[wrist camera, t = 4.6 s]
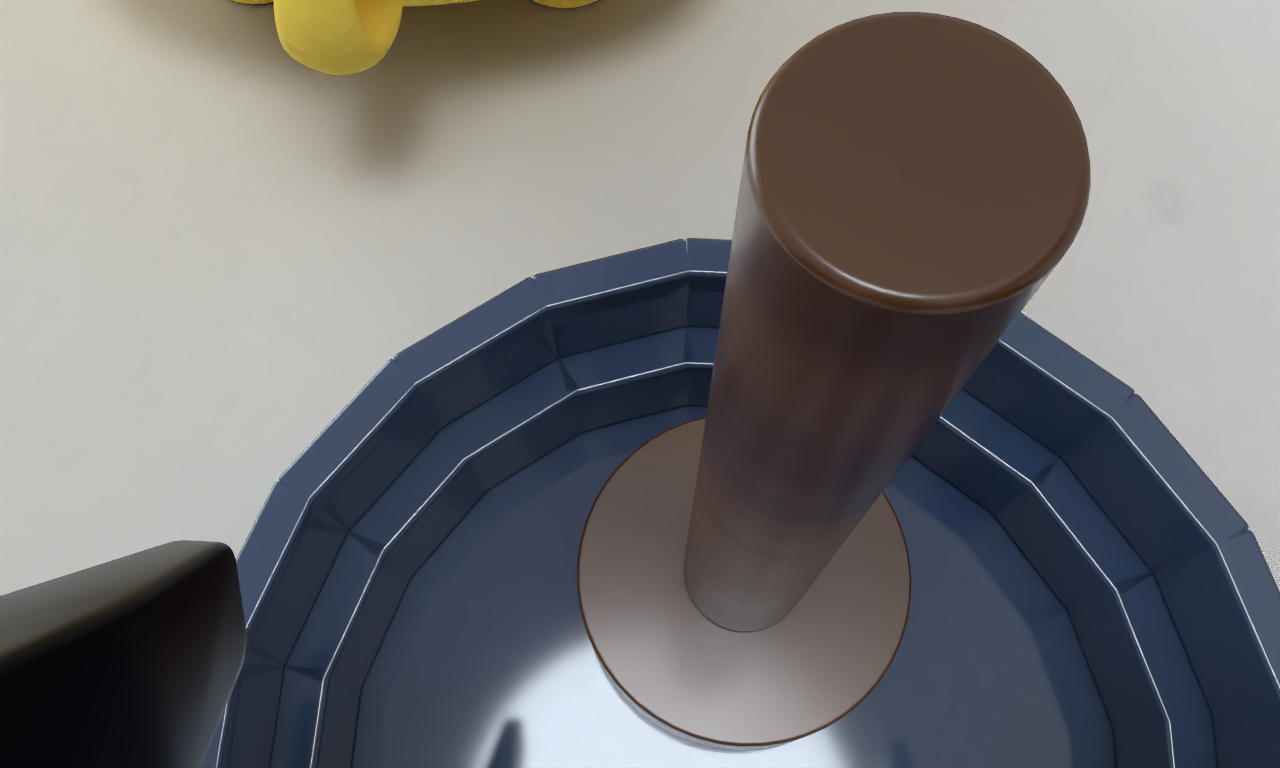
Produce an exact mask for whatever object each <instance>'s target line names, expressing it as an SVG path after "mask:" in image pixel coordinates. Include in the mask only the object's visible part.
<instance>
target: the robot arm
mask: <svg viewBox="0 0 1280 768" xmlns="http://www.w3.org/2000/svg"><path fill="white" fill-rule="evenodd" d="M246 638H247V634H246V625H245V618H244V611H243V605H242V598H241V591H240V584H239V577H238V570H237V564H236V559H235V556H234V554H233V551H232V550H231V548H230V547H229V546H228V545H226V544H224V543H221V542H206V541H186V540H182V541H173V542H170V543H166V544H163V545H160V546H157V547H154V548H151V549H147V550H144V551H141V552H138V553H135V554H132V555H129V556H125V557H122V558H119V559H116V560H113V561H110V562H106V563H103V564H100V565H97V566H94V567H91V568H87V569H84V570H81V571H78V572H75V573H72V574H69V575H65V576H62V577H59V578H56V579H53V580H50V581H46V582H43V583H40V584H37V585H34V586H31V587H28V588H24V589H21V590H18V591H15V592H12V593H9V594H5V595H2V596H0V768H201V766H202V764H203V761H204V759H205V756H206V754H207V751H208V749H209V746H210V744H211V742H212V739H213V737H214V734H215V732H216V729H217V727H218V725H219V722H220V720H221V717H222V715H223V712H224V710H225V708H226V705H227V703H228V700H229V698H230V695H231V693H232V691H233V688H234V686H235V683H236V681H237V678H238V676H239V673H240V671H241V668H242V665H243V661H244V657H245V651H246Z"/></svg>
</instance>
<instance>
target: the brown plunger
mask: <svg viewBox="0 0 1280 768" xmlns="http://www.w3.org/2000/svg"><path fill="white" fill-rule="evenodd" d="M1089 192H1090V159H1089V153H1088V147H1087V141H1086V137H1085V134H1084V131H1083V128H1082V124H1081V121H1080V119H1079V117H1078V115H1077V113H1076V111H1075V108H1074V106H1073V104H1072V102H1071V101H1070V99H1069V98H1068V96H1067V95H1066V93H1065V92H1064V90H1063V88H1062V87H1061V85H1060V84H1059V83H1058V82H1057V81H1056V80H1055V78H1054V77H1053V76H1052V75H1051V74H1050V72H1049V71H1048V70H1047V69H1046V68H1045V67H1044V66H1043V65H1042V64H1040V63H1039V62H1038V61H1037V60H1036V59H1035V58H1034V57H1033V56H1032V55H1030V54H1029V53H1028V52H1026V51H1025V50H1024V49H1022V48H1021V47H1020V46H1018V45H1017V44H1015V43H1014V42H1012V41H1010V40H1008V39H1007V38H1005V37H1003V36H1002V35H1000V34H998V33H996V32H994V31H992V30H989V29H987V28H985V27H982V26H980V25H978V24H975V23H972V22H968V21H965V20H962V19H959V18H955V17H950V16H945V15H940V14H933V13H922V12H893V13H885V14H877V15H871V16H867V17H863V18H859V19H855V20H852V21H850V22H847V23H844V24H842V25H839V26H836V27H834V28H832V29H830V30H828V31H826V32H824V33H823V34H821V35H819V36H817V37H816V38H814V39H813V40H811V41H810V42H808V43H807V44H806V45H804V46H803V47H801V48H800V49H799V50H798V51H797V52H796V53H794V54H793V55H792V56H791V57H790V58H789V59H788V60H787V61H786V62H785V63H784V64H782V66H781V67H780V68H779V69H778V71H777V72H776V73H775V74H774V75H773V77H772V78H771V79H770V81H769V82H768V84H767V86H766V87H765V89H764V90H763V92H762V94H761V95H760V98H759V100H758V102H757V105H756V107H755V109H754V112H753V115H752V119H751V123H750V127H749V130H748V136H747V143H746V150H745V156H744V163H743V170H742V177H741V183H740V190H739V197H738V204H737V210H736V217H735V224H734V231H733V237H732V244H731V251H730V258H729V264H728V271H727V278H726V285H725V291H724V298H723V305H722V311H721V318H720V325H719V332H718V338H717V345H716V352H715V359H714V365H713V372H712V379H711V386H710V392H709V399H708V406H707V413H706V416H705V417H702V418H698V419H694V420H691V421H687V422H684V423H682V424H679V425H677V426H675V427H672V428H670V429H667V430H665V431H664V432H662V433H660V434H658V435H657V436H655V437H653V438H651V439H650V440H648V441H647V442H646V443H644V444H643V445H642V446H640V447H639V448H638V449H636V450H635V451H634V452H632V453H631V454H630V455H629V456H628V457H627V458H626V459H625V460H624V461H623V462H622V463H621V464H620V465H619V466H618V467H617V468H616V470H615V471H614V472H613V474H612V475H611V476H610V477H609V479H608V480H607V481H606V483H605V484H604V486H603V487H602V489H601V491H600V492H599V494H598V496H597V498H596V499H595V501H594V503H593V505H592V508H591V510H590V512H589V515H588V517H587V520H586V522H585V526H584V530H583V533H582V537H581V540H580V546H579V554H578V561H577V589H578V597H579V605H580V610H581V613H582V617H583V621H584V625H585V629H586V631H587V634H588V636H589V639H590V642H591V644H592V646H593V649H594V651H595V654H596V656H597V659H598V661H599V663H600V664H601V666H602V668H603V670H604V671H605V673H606V675H607V677H608V678H609V680H610V681H611V682H612V684H613V685H614V686H615V687H616V689H617V690H618V691H619V693H620V694H621V695H622V696H623V697H624V698H625V699H626V700H627V701H628V702H629V703H630V704H631V705H632V706H633V707H634V708H635V709H636V710H637V711H638V712H639V713H641V714H642V715H643V716H644V717H646V718H647V719H648V720H650V721H651V722H652V723H654V724H655V725H657V726H659V727H661V728H662V729H664V730H666V731H667V732H669V733H671V734H673V735H675V736H678V737H680V738H683V739H685V740H688V741H690V742H693V743H697V744H701V745H704V746H708V747H712V748H720V749H728V750H757V749H763V748H770V747H776V746H779V745H783V744H786V743H789V742H793V741H796V740H799V739H801V738H804V737H806V736H809V735H811V734H813V733H815V732H818V731H820V730H822V729H824V728H826V727H828V726H830V725H831V724H833V723H834V722H836V721H838V720H839V719H841V718H842V717H844V716H845V715H847V714H848V713H849V712H850V711H852V710H853V709H854V708H855V707H856V706H857V705H859V704H860V703H861V702H862V701H863V700H864V699H865V698H866V697H867V696H868V695H869V694H870V692H871V691H872V690H873V689H874V688H875V687H876V686H877V684H878V683H879V682H880V680H881V679H882V677H883V676H884V674H885V673H886V671H887V670H888V668H889V667H890V665H891V663H892V661H893V659H894V657H895V655H896V653H897V651H898V648H899V646H900V644H901V641H902V638H903V635H904V631H905V628H906V625H907V621H908V615H909V609H910V604H911V583H912V579H911V568H910V558H909V554H908V549H907V545H906V540H905V536H904V534H903V531H902V528H901V525H900V523H899V520H898V517H897V515H896V513H895V511H894V509H893V507H892V505H891V503H890V501H889V500H888V498H887V496H886V495H885V493H884V492H883V491H884V490H885V488H886V487H887V486H888V484H889V483H890V482H891V480H892V479H893V478H894V477H895V475H896V474H897V473H898V471H899V470H900V469H901V467H902V466H903V465H904V463H905V462H906V461H907V460H908V458H909V457H910V456H911V454H912V453H913V452H914V450H915V449H916V448H917V447H918V445H919V444H920V443H921V441H922V440H923V439H924V437H925V436H926V435H927V433H928V432H929V431H930V430H931V428H932V427H933V426H934V424H935V423H936V422H937V420H938V419H939V418H940V417H941V415H942V414H943V413H944V411H945V410H946V409H947V407H948V406H949V405H950V403H951V402H952V401H953V400H954V398H955V397H956V396H957V394H958V393H959V392H960V390H961V389H962V388H963V387H964V385H965V384H966V383H967V381H968V380H969V379H970V377H971V376H972V375H973V373H974V372H975V371H976V370H977V368H978V367H979V366H980V364H981V363H982V362H983V360H984V359H985V358H986V357H987V355H988V354H989V353H990V351H991V350H992V349H993V347H994V346H995V345H996V343H997V342H998V341H999V340H1000V338H1001V337H1002V336H1003V334H1004V333H1005V332H1006V330H1007V329H1008V328H1009V327H1010V325H1011V324H1012V323H1013V321H1014V320H1015V319H1016V317H1017V316H1018V315H1019V313H1020V312H1021V311H1022V310H1023V308H1024V307H1025V306H1026V304H1027V303H1028V302H1029V300H1030V299H1031V298H1032V297H1033V295H1034V294H1035V293H1036V291H1037V290H1038V289H1039V287H1040V286H1041V285H1042V283H1043V282H1044V281H1045V280H1046V278H1047V277H1048V276H1049V274H1050V273H1051V272H1052V270H1053V269H1054V268H1055V267H1056V265H1057V264H1058V263H1059V261H1060V260H1061V259H1062V257H1063V256H1064V254H1065V253H1066V251H1067V250H1068V249H1069V247H1070V246H1071V244H1072V243H1073V241H1074V239H1075V237H1076V235H1077V233H1078V231H1079V229H1080V227H1081V225H1082V222H1083V219H1084V215H1085V212H1086V209H1087V205H1088V199H1089Z"/></svg>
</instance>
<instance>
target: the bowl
mask: <svg viewBox="0 0 1280 768" xmlns="http://www.w3.org/2000/svg"><path fill="white" fill-rule="evenodd" d="M731 244H732V240H722V239H699V238H688V239H686V241H684V240H683V239H678V240H674V241H670V242H666V243H662V244H658V245H654V246H650V247H646V248H642V249H638V250H633V251H629V252H625V253H621V254H617V255H613V256H609V257H605V258H601V259H597V260H593V261H589V262H585V263H580V264H576V265H572V266H568V267H564V268H560V269H556V270H552V271H548V272H544V273H540V274H536V275H535V276H533V278H531V277H529V278H526V279H525V280H523V281H521V282H520V283H518V284H516V285H514V286H513V287H511V288H509V289H507V290H506V291H504V292H502V293H501V294H499V295H497V296H495V297H494V298H492V299H490V300H489V301H487V302H485V303H483V304H482V305H480V306H478V307H477V308H475V309H473V310H471V311H470V312H468V313H466V314H465V315H463V316H461V317H459V318H458V319H456V320H454V321H453V322H451V323H449V324H447V325H446V326H444V327H442V328H441V329H439V330H437V331H435V332H434V333H432V334H430V335H429V336H427V337H425V338H423V339H422V340H420V341H418V342H417V343H415V344H413V345H411V346H410V347H408V348H406V349H405V350H403V351H401V352H399V353H398V354H396V355H395V356H394V359H390V360H389V361H388V362H387V363H386V364H385V365H384V366H383V367H382V368H381V369H380V370H379V371H378V372H377V374H376V375H375V376H374V377H373V378H372V379H371V380H370V381H369V382H368V383H367V384H366V385H365V386H364V387H363V388H362V389H361V391H360V392H359V393H358V394H357V395H356V396H355V397H354V398H353V399H352V400H351V401H350V402H349V403H348V404H347V405H346V407H345V408H344V409H343V410H342V411H341V412H340V413H339V414H338V415H337V416H336V417H335V418H334V419H333V420H332V421H331V422H330V424H329V425H328V426H327V427H326V428H325V429H324V430H323V431H322V432H321V433H320V434H319V435H318V436H317V437H316V438H315V439H314V441H313V442H312V443H311V444H310V445H309V446H308V447H307V448H306V449H305V450H304V451H303V452H302V453H301V454H300V455H299V457H298V458H297V459H296V460H295V461H294V462H293V463H292V464H291V465H290V466H289V467H288V468H287V469H286V470H285V471H284V472H283V474H282V475H281V476H280V478H279V481H280V482H275V484H274V485H273V487H272V489H271V491H270V493H269V495H268V497H267V499H266V501H265V503H264V505H263V507H262V509H261V511H260V513H259V515H258V517H257V519H256V521H255V523H254V525H253V527H252V529H251V531H250V533H249V535H248V537H247V539H246V541H245V543H244V545H243V547H242V549H241V551H240V553H239V555H238V557H237V559H236V564H237V570H238V577H239V584H240V591H241V598H242V605H243V611H244V618H245V625H246V634H247V638H246V651H245V657H244V661H243V665H242V668H241V671H240V673H239V676H238V678H237V681H236V683H235V686H234V688H233V691H232V693H231V695H230V698H229V700H228V703H227V705H226V708H225V710H224V712H223V715H222V717H221V720H220V722H219V725H218V727H217V729H216V732H215V734H214V737H213V739H212V742H211V744H210V746H209V749H208V751H207V754H206V756H205V759H204V761H203V764H202V766H201V768H1280V591H1279V589H1278V587H1277V585H1276V582H1275V580H1274V578H1273V576H1272V574H1271V571H1270V569H1269V567H1268V565H1267V563H1266V560H1265V558H1264V556H1263V554H1262V551H1261V549H1260V547H1259V545H1258V543H1257V540H1256V538H1255V536H1254V534H1253V533H1252V531H1249V530H1247V529H1248V524H1247V523H1246V522H1245V521H1244V519H1243V518H1242V517H1241V516H1240V515H1239V513H1238V512H1237V511H1236V510H1235V509H1234V507H1233V506H1232V505H1231V504H1230V503H1229V502H1228V500H1227V499H1226V498H1225V497H1224V496H1223V494H1222V493H1221V492H1220V491H1219V490H1218V488H1217V487H1216V486H1215V485H1214V484H1213V482H1212V481H1211V480H1210V479H1209V478H1208V477H1207V475H1206V474H1205V473H1204V472H1203V471H1202V469H1201V468H1200V467H1199V466H1198V465H1197V463H1196V462H1195V461H1194V460H1193V459H1192V458H1191V456H1190V455H1189V454H1188V453H1187V452H1186V450H1185V449H1184V448H1183V447H1182V446H1181V444H1180V443H1179V442H1178V441H1177V440H1176V438H1175V437H1174V436H1173V435H1172V434H1171V433H1170V431H1169V430H1168V429H1167V428H1166V427H1165V425H1164V424H1163V423H1162V422H1161V421H1160V419H1159V418H1158V417H1157V416H1156V415H1155V414H1154V412H1153V411H1152V410H1151V409H1150V408H1149V406H1148V405H1147V404H1146V403H1145V402H1144V400H1143V399H1142V398H1141V397H1140V396H1139V395H1138V394H1134V390H1133V389H1132V388H1131V387H1129V386H1128V385H1126V384H1125V383H1123V382H1122V381H1120V380H1119V379H1117V378H1116V377H1115V376H1113V375H1112V374H1110V373H1109V372H1107V371H1106V370H1104V369H1103V368H1101V367H1100V366H1098V365H1097V364H1095V363H1094V362H1093V361H1091V360H1090V359H1088V358H1087V357H1085V356H1084V355H1082V354H1081V353H1079V352H1078V351H1076V350H1075V349H1073V348H1072V347H1071V346H1069V345H1068V344H1066V343H1065V342H1063V341H1062V340H1060V339H1059V338H1057V337H1056V336H1054V335H1053V334H1052V333H1050V332H1049V331H1047V330H1046V329H1044V328H1043V327H1041V326H1040V325H1038V324H1037V323H1035V322H1034V321H1032V320H1031V319H1030V318H1028V317H1027V316H1025V315H1024V314H1022V313H1021V312H1020V313H1019V315H1018V316H1017V317H1016V319H1015V320H1014V321H1013V323H1012V324H1011V325H1010V327H1009V328H1008V329H1007V330H1006V332H1005V333H1004V334H1003V336H1002V337H1001V338H1000V340H999V341H998V342H997V343H996V345H995V346H994V347H993V349H992V350H991V351H990V353H989V354H988V355H987V357H986V358H985V359H984V360H983V362H982V363H981V364H980V366H979V367H978V368H977V370H976V371H975V372H974V373H973V375H972V376H971V377H970V379H969V380H968V381H967V383H966V384H965V385H964V387H963V388H962V389H961V390H960V392H959V393H958V394H957V396H956V397H955V398H954V400H953V401H952V402H951V403H950V405H949V406H948V407H947V409H946V410H945V411H944V413H943V414H942V415H941V417H940V418H939V419H938V420H937V422H936V423H935V424H934V426H933V427H932V428H931V430H930V431H929V432H928V433H927V435H926V436H925V437H924V439H923V440H922V441H921V443H920V444H919V445H918V447H917V448H916V449H915V450H914V452H913V453H912V454H911V456H910V457H909V458H908V460H907V461H906V462H905V463H904V465H903V466H902V467H901V469H900V470H899V471H898V473H897V474H896V475H895V477H894V478H893V479H892V480H891V482H890V483H889V484H888V486H887V487H886V488H885V490H884V491H883V492H884V493H885V495H886V496H887V498H888V500H889V501H890V503H891V505H892V507H893V509H894V511H895V513H896V515H897V517H898V520H899V523H900V525H901V528H902V531H903V534H904V536H905V540H906V545H907V549H908V554H909V558H910V568H911V579H912V583H911V604H910V609H909V615H908V621H907V625H906V628H905V631H904V635H903V638H902V641H901V644H900V646H899V648H898V651H897V653H896V655H895V657H894V659H893V661H892V663H891V665H890V667H889V668H888V670H887V671H886V673H885V674H884V676H883V677H882V679H881V680H880V682H879V683H878V684H877V686H876V687H875V688H874V689H873V690H872V691H871V692H870V694H869V695H868V696H867V697H866V698H865V699H864V700H863V701H862V702H861V703H860V704H859V705H857V706H856V707H855V708H854V709H853V710H852V711H850V712H849V713H848V714H847V715H845V716H844V717H842V718H841V719H839V720H838V721H836V722H834V723H833V724H831V725H830V726H828V727H826V728H824V729H822V730H820V731H818V732H815V733H813V734H811V735H809V736H806V737H804V738H801V739H799V740H796V741H793V742H789V743H786V744H783V745H779V746H776V747H770V748H763V749H757V750H728V749H720V748H712V747H708V746H704V745H701V744H697V743H693V742H690V741H688V740H685V739H683V738H680V737H678V736H675V735H673V734H671V733H669V732H667V731H666V730H664V729H662V728H661V727H659V726H657V725H655V724H654V723H652V722H651V721H650V720H648V719H647V718H646V717H644V716H643V715H642V714H641V713H639V712H638V711H637V710H636V709H635V708H634V707H633V706H632V705H631V704H630V703H629V702H628V701H627V700H626V699H625V698H624V697H623V696H622V695H621V694H620V693H619V691H618V690H617V689H616V687H615V686H614V685H613V684H612V682H611V681H610V680H609V678H608V677H607V675H606V673H605V671H604V670H603V668H602V666H601V664H600V663H599V661H598V659H597V656H596V654H595V651H594V649H593V646H592V644H591V642H590V639H589V636H588V634H587V631H586V629H585V625H584V621H583V617H582V613H581V610H580V605H579V597H578V589H577V561H578V554H579V546H580V540H581V537H582V533H583V530H584V526H585V522H586V520H587V517H588V515H589V512H590V510H591V508H592V505H593V503H594V501H595V499H596V498H597V496H598V494H599V492H600V491H601V489H602V487H603V486H604V484H605V483H606V481H607V480H608V479H609V477H610V476H611V475H612V474H613V472H614V471H615V470H616V468H617V467H618V466H619V465H620V464H621V463H622V462H623V461H624V460H625V459H626V458H627V457H628V456H629V455H630V454H631V453H632V452H634V451H635V450H636V449H638V448H639V447H640V446H642V445H643V444H644V443H646V442H647V441H648V440H650V439H651V438H653V437H655V436H657V435H658V434H660V433H662V432H664V431H665V430H667V429H670V428H672V427H675V426H677V425H679V424H682V423H684V422H687V421H691V420H694V419H698V418H702V417H705V416H706V413H707V406H708V399H709V392H710V386H711V379H712V372H713V365H714V359H715V352H716V345H717V338H718V332H719V325H720V318H721V311H722V305H723V298H724V291H725V285H726V278H727V271H728V264H729V258H730V251H731Z"/></svg>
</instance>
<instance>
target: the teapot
mask: <svg viewBox="0 0 1280 768" xmlns="http://www.w3.org/2000/svg"><path fill="white" fill-rule="evenodd" d="M232 1H236V2H239V3H246V4H264V3H270V2H274V16H275V23H276V28H277V32H278V36H279V40H280V42H281V44H282V46H283V48H284V49H285V51H286V52H287V54H288V55H290V56H291V57H292V58H293V59H294V60H296V61H297V62H299V63H301V64H302V65H304V66H307V67H309V68H311V69H313V70H316V71H319V72H322V73H326V74H330V75H335V76H341V75H348V74H353V73H357V72H361V71H364V70H367V69H369V68H371V67H373V66H374V65H376V64H377V63H378V62H379V61H380V60H381V59H382V58H383V57H384V56H385V55H386V53H387V52H388V50H389V48H390V47H391V45H392V43H393V41H394V39H395V37H396V35H397V32H398V28H399V25H400V21H401V16H402V9H403V6H432V5H441V4H451V3H461V2H471V1H477V0H232ZM533 1H535V2H537V3H539V4H542V5H546V6H550V7H557V8H574V7H580V6H584V5H588V4H591V3H593V2H595V1H598V0H533Z"/></svg>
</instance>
